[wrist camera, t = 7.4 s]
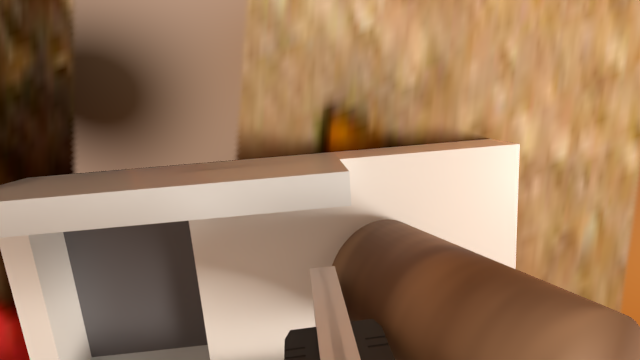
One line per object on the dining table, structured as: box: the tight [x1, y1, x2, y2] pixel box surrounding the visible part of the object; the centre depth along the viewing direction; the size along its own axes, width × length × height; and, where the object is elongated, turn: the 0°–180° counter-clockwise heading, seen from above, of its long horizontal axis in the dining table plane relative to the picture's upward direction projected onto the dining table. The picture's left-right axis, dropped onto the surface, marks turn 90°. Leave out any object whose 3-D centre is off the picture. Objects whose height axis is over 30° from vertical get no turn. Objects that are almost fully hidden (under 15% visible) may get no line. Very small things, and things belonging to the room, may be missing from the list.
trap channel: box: [0, 139, 520, 360], centre depth 20 cm, size 27×13×6 cm, turn 94°
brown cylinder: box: [332, 219, 640, 360], centre depth 15 cm, size 6×6×10 cm
